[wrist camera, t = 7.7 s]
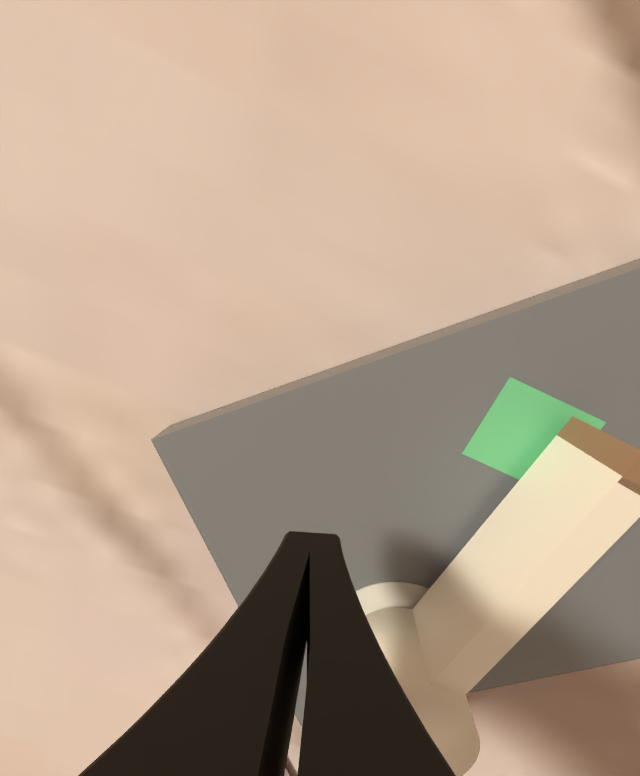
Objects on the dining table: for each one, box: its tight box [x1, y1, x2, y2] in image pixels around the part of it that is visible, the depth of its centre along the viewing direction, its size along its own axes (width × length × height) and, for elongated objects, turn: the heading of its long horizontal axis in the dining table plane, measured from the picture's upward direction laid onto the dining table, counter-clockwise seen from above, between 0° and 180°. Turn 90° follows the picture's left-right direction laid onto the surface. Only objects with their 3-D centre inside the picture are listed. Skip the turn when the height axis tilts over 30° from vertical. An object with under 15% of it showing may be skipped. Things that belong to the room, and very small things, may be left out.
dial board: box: [151, 259, 640, 726], centre depth 14 cm, size 16×20×2 cm
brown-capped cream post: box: [366, 416, 640, 776], centre depth 12 cm, size 14×4×3 cm, turn 151°
